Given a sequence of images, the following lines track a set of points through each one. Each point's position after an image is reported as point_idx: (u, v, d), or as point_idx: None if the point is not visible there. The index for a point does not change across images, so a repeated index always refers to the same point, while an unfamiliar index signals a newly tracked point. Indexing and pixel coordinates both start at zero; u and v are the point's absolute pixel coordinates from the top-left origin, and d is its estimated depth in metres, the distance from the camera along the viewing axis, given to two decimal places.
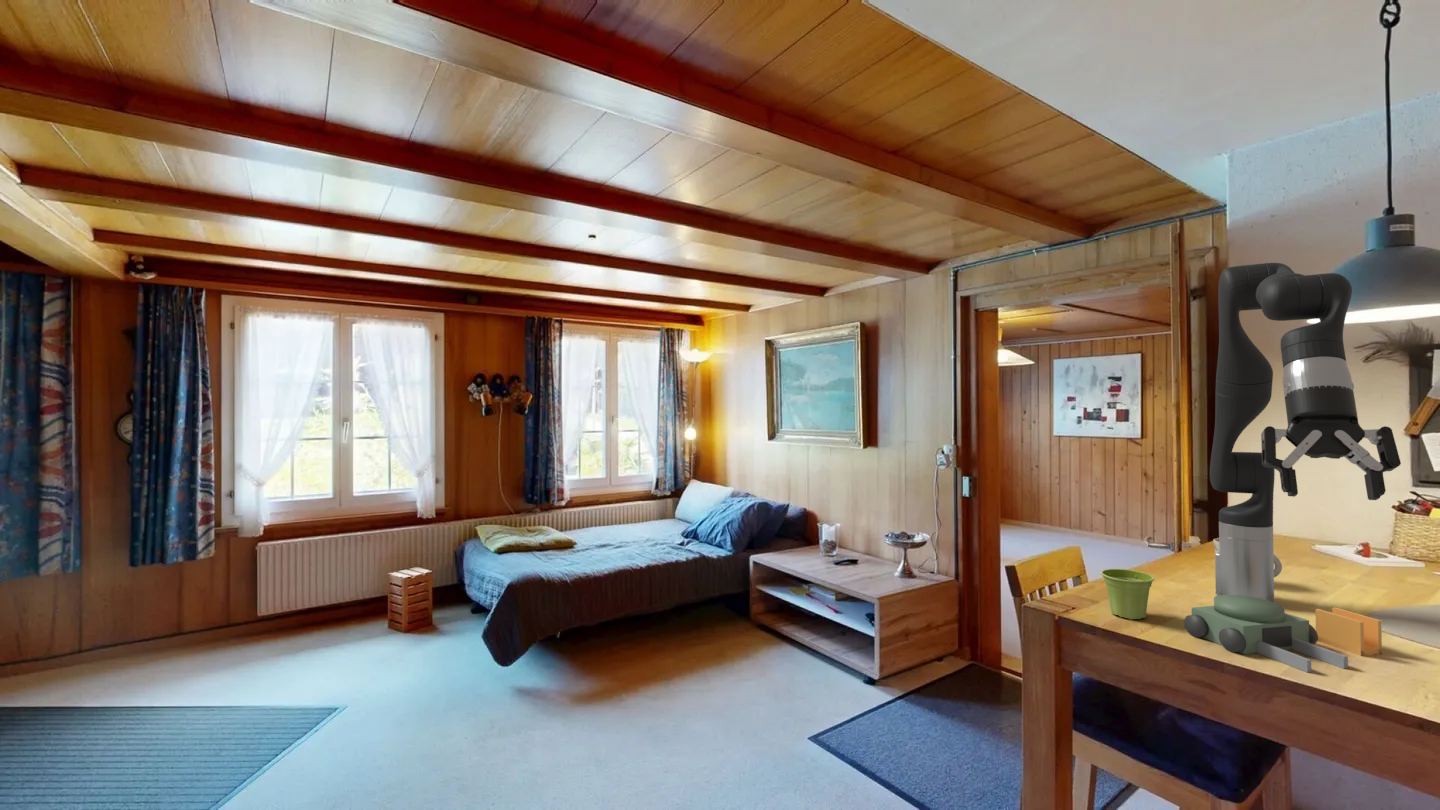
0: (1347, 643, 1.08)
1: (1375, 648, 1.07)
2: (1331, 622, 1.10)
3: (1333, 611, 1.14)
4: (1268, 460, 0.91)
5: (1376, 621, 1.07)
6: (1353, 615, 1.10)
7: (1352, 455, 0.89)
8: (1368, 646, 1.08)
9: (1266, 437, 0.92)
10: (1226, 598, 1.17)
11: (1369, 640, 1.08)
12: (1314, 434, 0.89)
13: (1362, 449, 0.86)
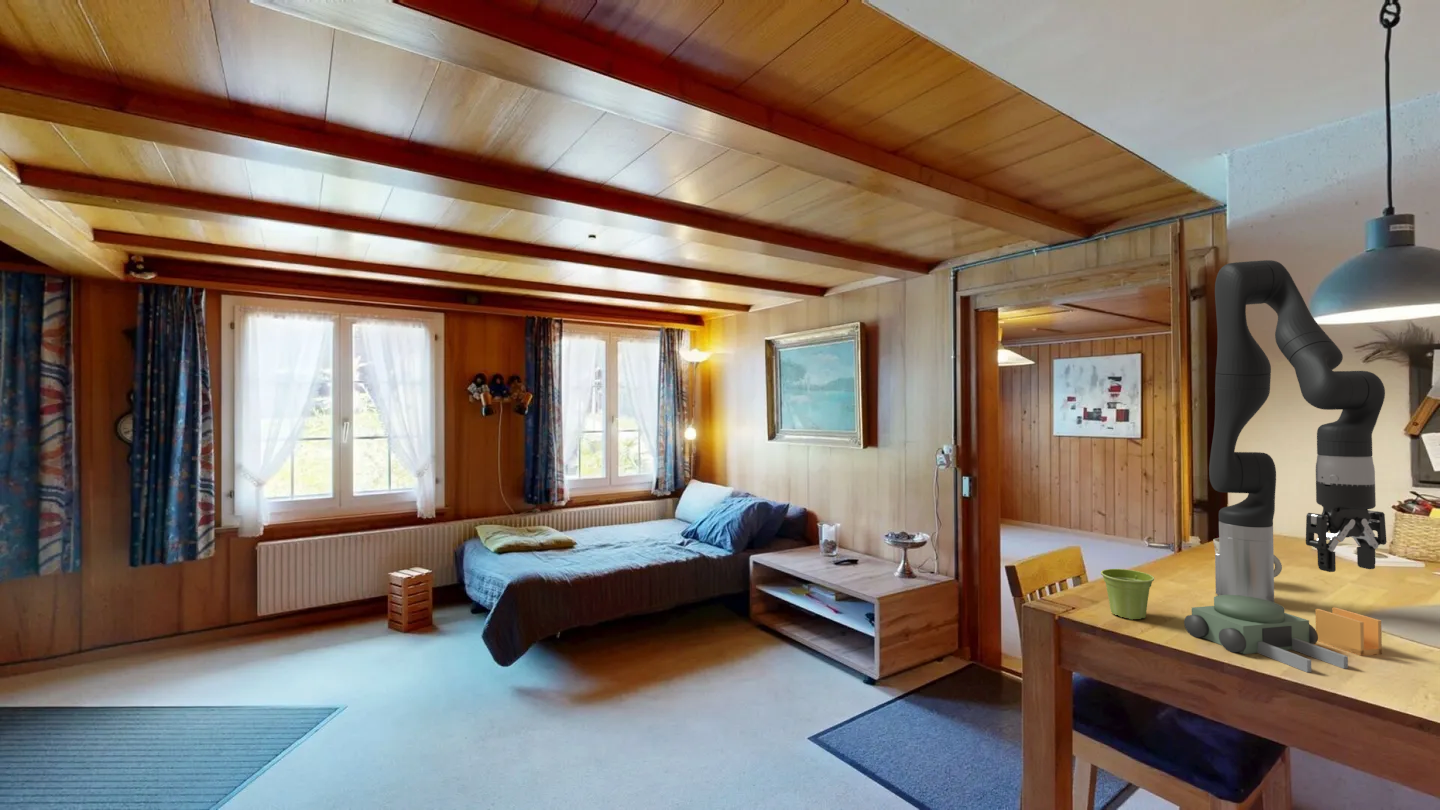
0: (1347, 643, 1.08)
1: (1375, 648, 1.07)
2: (1331, 622, 1.10)
3: (1333, 611, 1.14)
4: (1322, 545, 1.08)
5: (1376, 621, 1.07)
6: (1353, 615, 1.10)
7: None
8: (1368, 646, 1.08)
9: (1322, 525, 1.08)
10: (1226, 598, 1.17)
11: (1369, 640, 1.08)
12: (1351, 523, 1.08)
13: (1372, 533, 1.09)
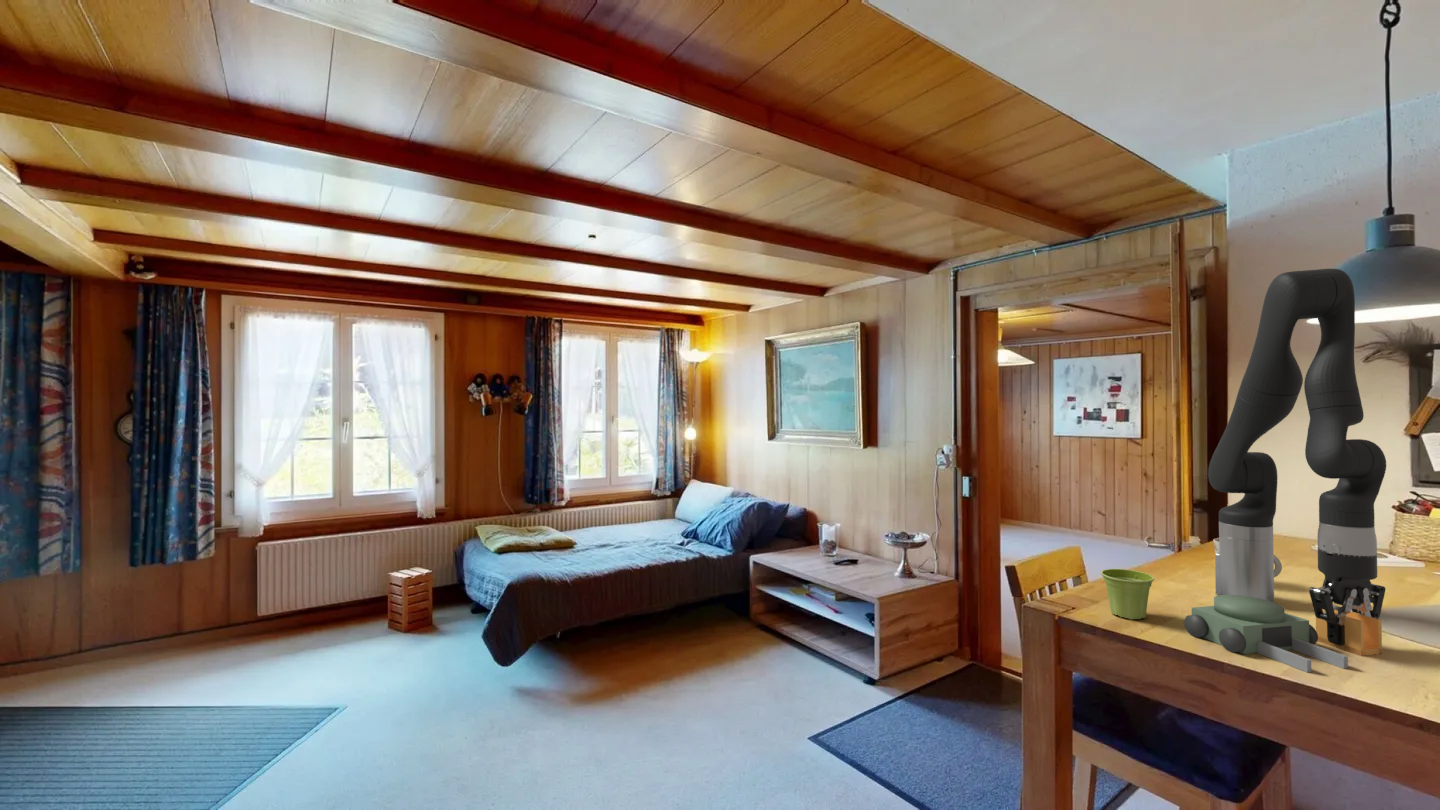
0: (1347, 642, 1.08)
1: (1375, 648, 1.07)
2: None
3: None
4: (1332, 620, 1.08)
5: (1376, 620, 1.07)
6: (1353, 614, 1.10)
7: None
8: (1368, 646, 1.08)
9: (1326, 601, 1.08)
10: (1226, 598, 1.17)
11: (1369, 639, 1.08)
12: (1353, 593, 1.08)
13: (1370, 606, 1.09)
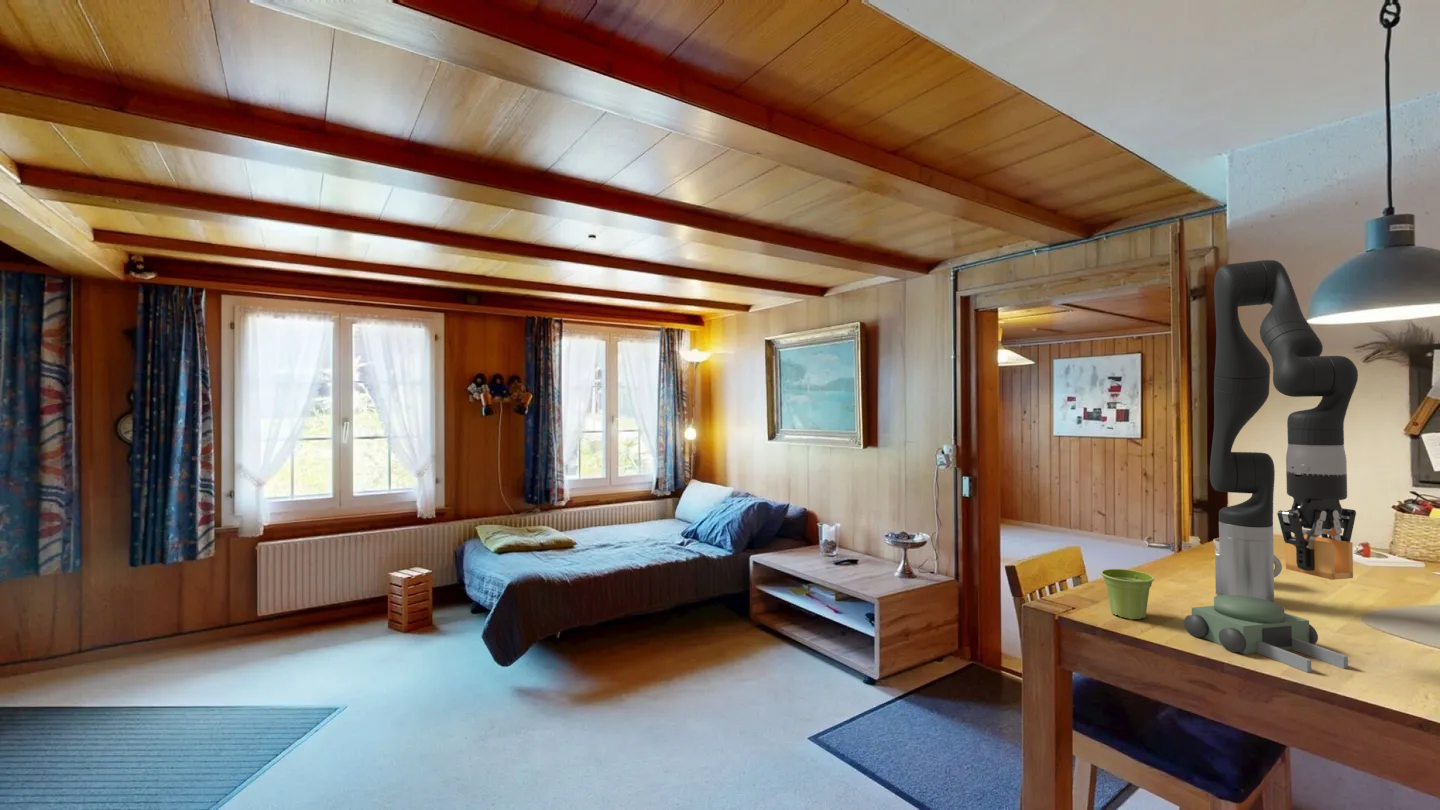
0: (1317, 567, 1.03)
1: (1346, 572, 1.02)
2: None
3: None
4: (1301, 543, 1.03)
5: (1347, 543, 1.02)
6: (1324, 540, 1.06)
7: None
8: (1339, 570, 1.03)
9: (1295, 523, 1.03)
10: (1226, 598, 1.17)
11: (1340, 564, 1.03)
12: (1322, 515, 1.03)
13: (1340, 529, 1.04)
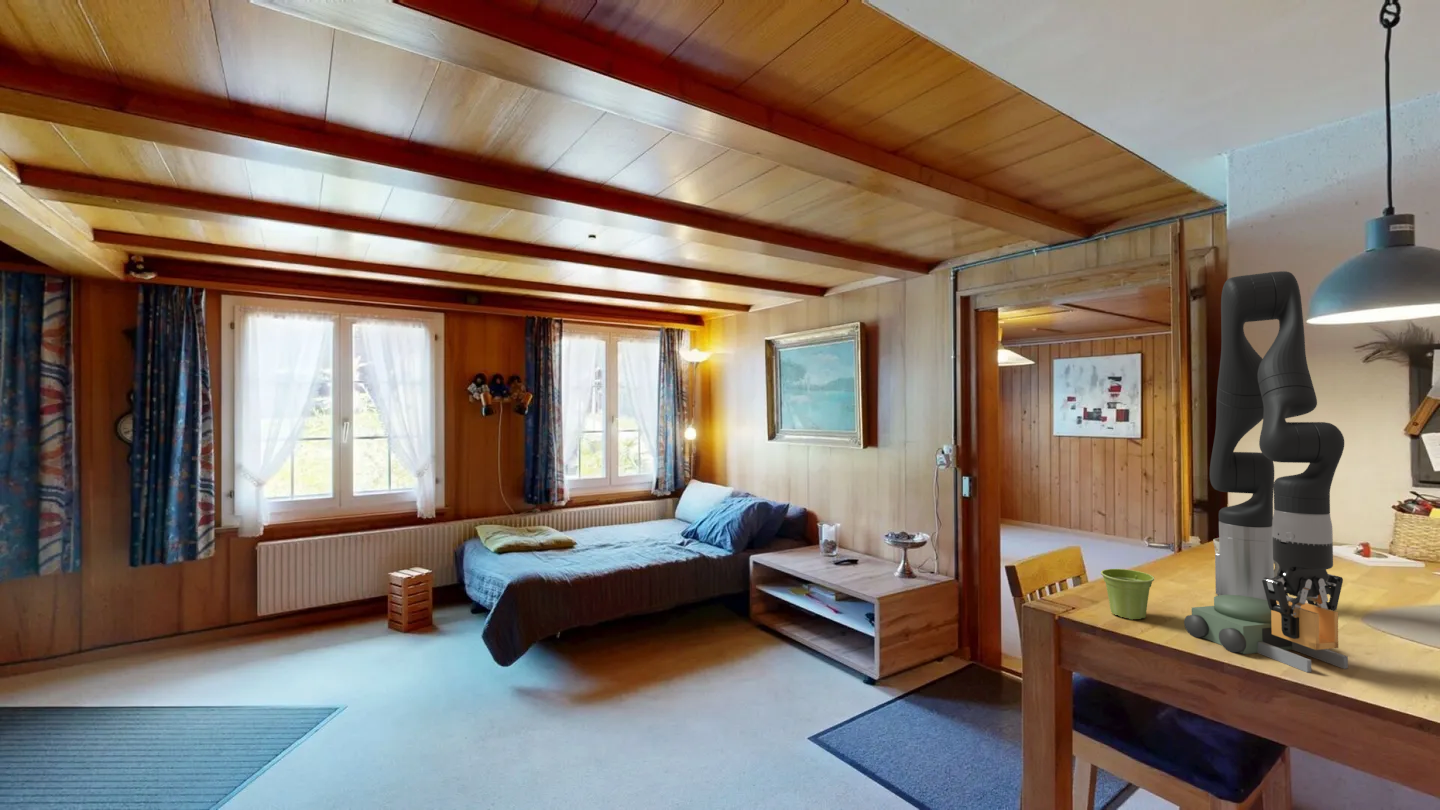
0: (1302, 636, 1.03)
1: (1332, 641, 1.01)
2: None
3: (1289, 602, 1.08)
4: (1286, 612, 1.02)
5: (1332, 613, 1.01)
6: (1310, 607, 1.05)
7: None
8: (1324, 639, 1.02)
9: (1279, 592, 1.02)
10: (1226, 598, 1.17)
11: (1325, 633, 1.02)
12: (1308, 583, 1.02)
13: (1326, 597, 1.03)
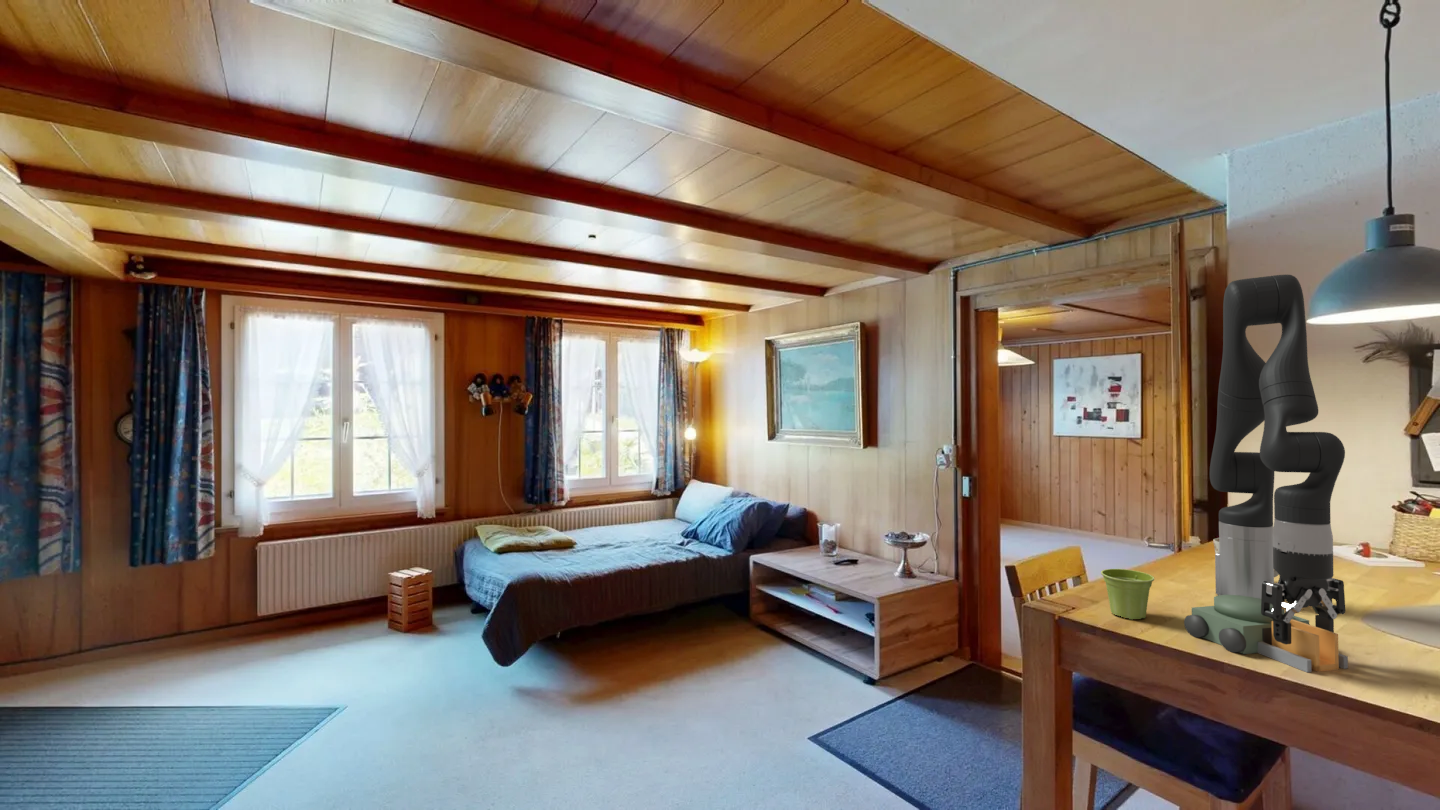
0: None
1: (1332, 663, 1.01)
2: None
3: None
4: (1277, 617, 1.02)
5: (1333, 634, 1.01)
6: (1310, 628, 1.05)
7: None
8: (1325, 661, 1.02)
9: (1277, 596, 1.02)
10: (1226, 598, 1.17)
11: (1326, 654, 1.03)
12: (1308, 593, 1.02)
13: (1330, 603, 1.03)
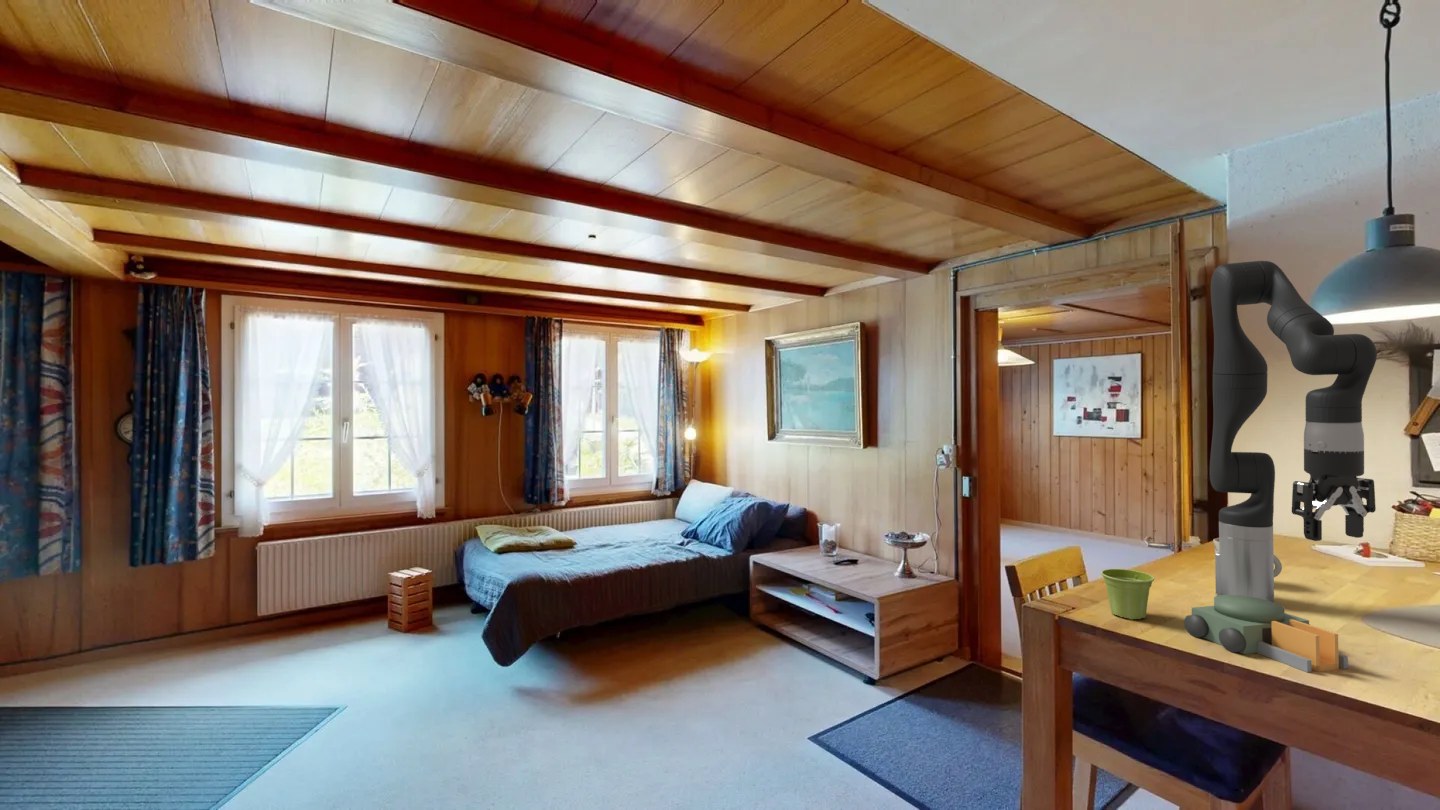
0: None
1: (1332, 663, 1.01)
2: (1287, 635, 1.05)
3: (1290, 623, 1.08)
4: (1308, 514, 1.05)
5: (1333, 634, 1.01)
6: (1310, 628, 1.05)
7: None
8: (1325, 661, 1.02)
9: (1308, 493, 1.05)
10: (1226, 598, 1.17)
11: (1326, 654, 1.03)
12: (1338, 490, 1.05)
13: (1361, 501, 1.06)
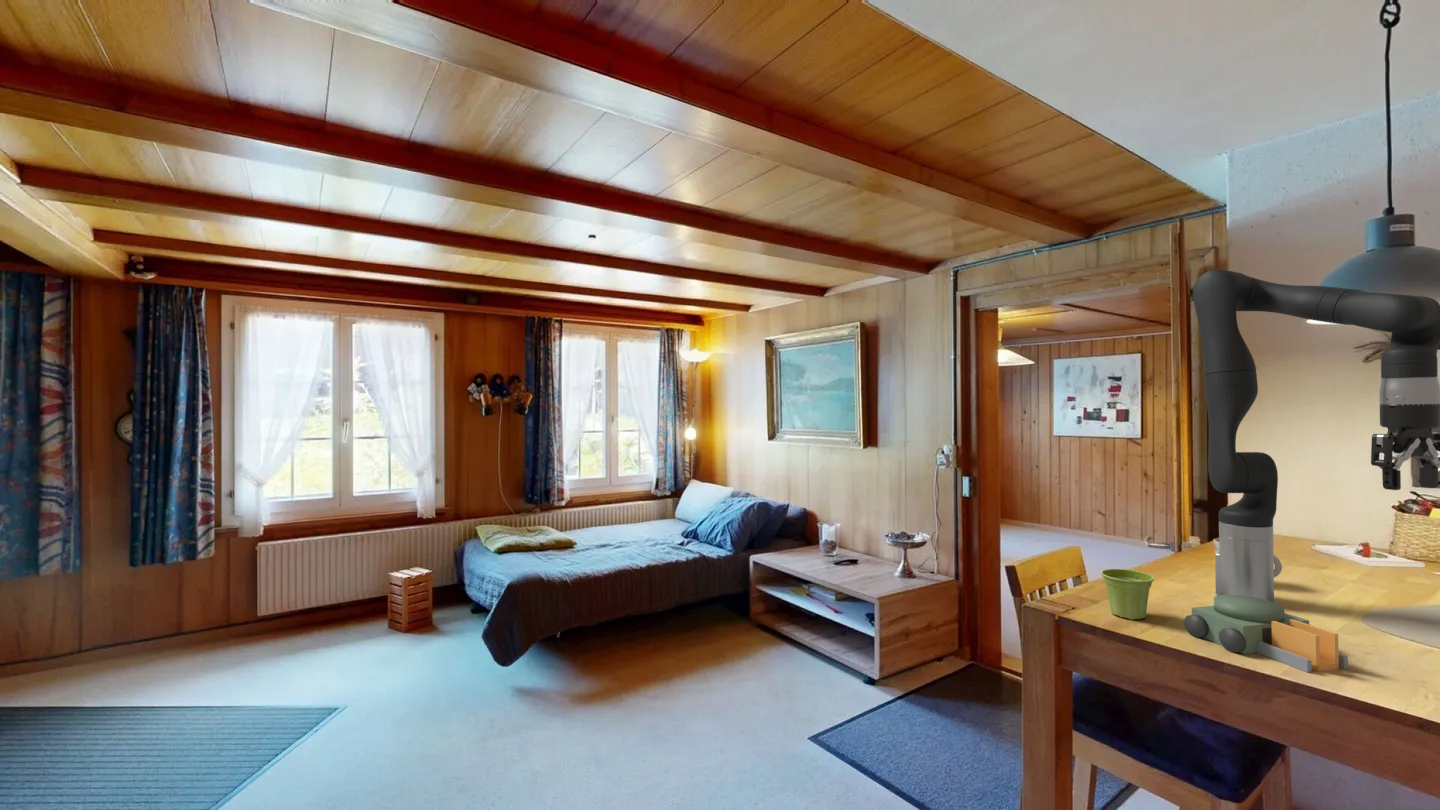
0: None
1: (1332, 663, 1.01)
2: (1287, 635, 1.05)
3: (1290, 623, 1.08)
4: (1388, 464, 1.11)
5: (1333, 634, 1.01)
6: (1310, 628, 1.05)
7: None
8: (1325, 661, 1.02)
9: (1388, 444, 1.11)
10: (1226, 598, 1.17)
11: (1326, 654, 1.03)
12: (1416, 442, 1.11)
13: (1436, 452, 1.12)
